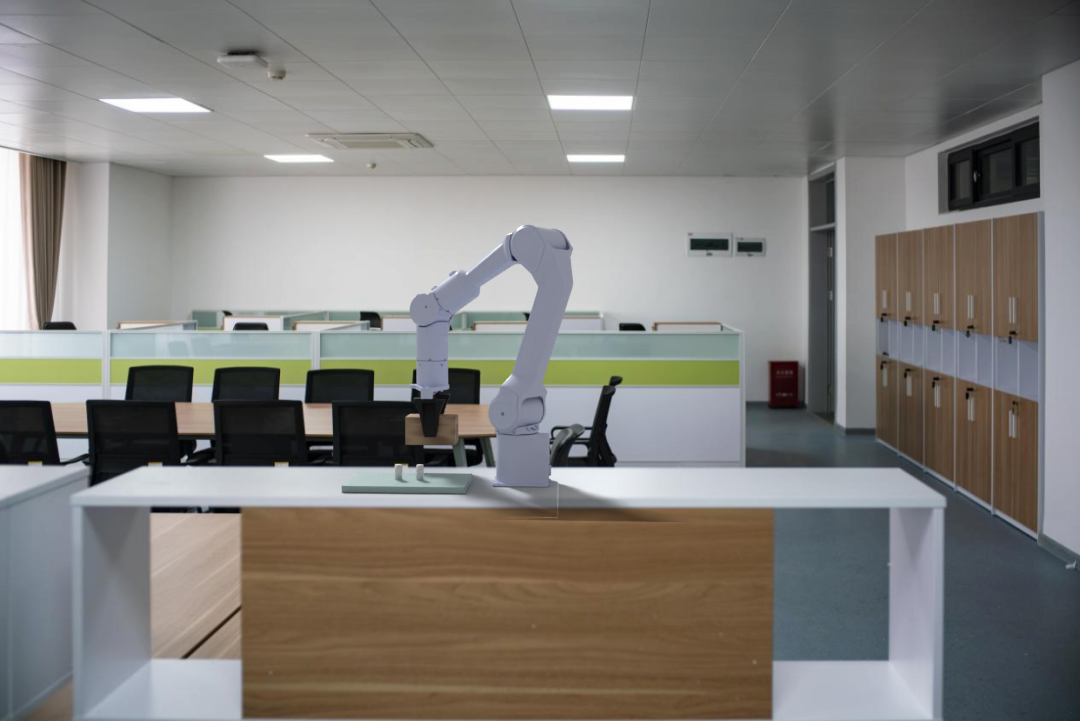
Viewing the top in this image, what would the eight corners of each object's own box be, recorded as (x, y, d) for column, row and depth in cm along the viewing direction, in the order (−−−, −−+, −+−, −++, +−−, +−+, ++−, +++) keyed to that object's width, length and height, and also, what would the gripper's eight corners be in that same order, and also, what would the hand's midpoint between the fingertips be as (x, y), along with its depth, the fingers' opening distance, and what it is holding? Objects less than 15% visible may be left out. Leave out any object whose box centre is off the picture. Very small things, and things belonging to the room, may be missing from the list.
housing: (458, 440, 165) (458, 414, 164) (455, 445, 160) (455, 417, 159) (410, 440, 165) (409, 413, 165) (405, 444, 160) (405, 417, 160)
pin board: (472, 479, 156) (472, 459, 155) (464, 493, 144) (464, 472, 143) (358, 477, 156) (358, 458, 156) (341, 491, 144) (341, 470, 144)
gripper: (416, 358, 169) (417, 429, 170) (403, 362, 154) (403, 440, 155) (453, 358, 169) (453, 429, 169) (443, 362, 154) (444, 440, 155)
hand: (432, 434), depth 162 cm, fingers closed on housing, 5 cm apart
